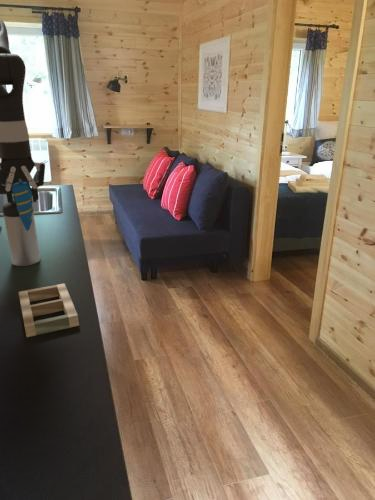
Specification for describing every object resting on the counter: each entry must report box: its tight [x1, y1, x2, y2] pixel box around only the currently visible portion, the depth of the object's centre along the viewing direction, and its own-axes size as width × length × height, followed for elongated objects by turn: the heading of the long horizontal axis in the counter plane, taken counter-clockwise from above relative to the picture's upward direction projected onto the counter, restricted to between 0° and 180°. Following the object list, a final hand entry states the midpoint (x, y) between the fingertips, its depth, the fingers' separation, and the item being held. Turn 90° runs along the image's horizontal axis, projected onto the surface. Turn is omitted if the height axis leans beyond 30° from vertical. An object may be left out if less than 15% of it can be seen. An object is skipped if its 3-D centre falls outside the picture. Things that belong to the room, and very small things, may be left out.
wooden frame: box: [18, 283, 80, 338], centre depth 112 cm, size 20×12×3 cm, turn 24°
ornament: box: [11, 178, 34, 231], centre depth 115 cm, size 5×5×15 cm
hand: (23, 202), depth 115 cm, fingers closed on ornament, 5 cm apart
